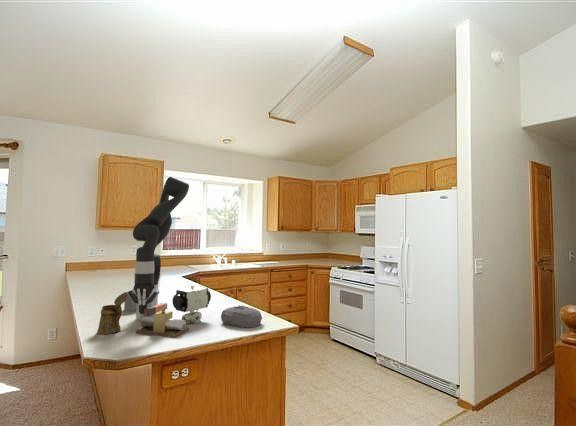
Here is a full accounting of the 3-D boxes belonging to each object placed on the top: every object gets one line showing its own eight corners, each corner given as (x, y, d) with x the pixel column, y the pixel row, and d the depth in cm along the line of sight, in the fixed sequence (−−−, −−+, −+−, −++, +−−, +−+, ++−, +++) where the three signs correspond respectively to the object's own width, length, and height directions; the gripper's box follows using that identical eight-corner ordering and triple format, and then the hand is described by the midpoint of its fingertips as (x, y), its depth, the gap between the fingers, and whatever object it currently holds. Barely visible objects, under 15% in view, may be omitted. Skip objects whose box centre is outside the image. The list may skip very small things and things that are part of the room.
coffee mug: (132, 312, 182) (133, 294, 182) (120, 310, 186) (120, 292, 186) (151, 307, 194) (152, 290, 194) (139, 306, 198) (140, 289, 199)
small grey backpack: (216, 324, 159) (249, 331, 149) (217, 307, 160) (249, 312, 149) (237, 317, 172) (268, 323, 162) (237, 301, 173) (268, 306, 162)
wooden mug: (115, 337, 139) (116, 293, 140) (92, 333, 144) (94, 291, 145) (132, 331, 147) (133, 290, 148) (109, 328, 152) (111, 288, 153)
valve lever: (162, 308, 149) (162, 302, 149) (168, 308, 148) (168, 302, 148) (142, 315, 135) (143, 308, 136) (149, 316, 135) (150, 309, 135)
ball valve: (181, 327, 153) (182, 289, 154) (171, 324, 158) (172, 287, 159) (212, 319, 167) (213, 284, 168) (202, 317, 172) (202, 282, 173)
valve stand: (135, 333, 144) (136, 310, 145) (150, 327, 154) (151, 306, 154) (175, 337, 139) (176, 313, 139) (188, 330, 148) (189, 308, 149)
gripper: (124, 272, 136) (122, 315, 135) (155, 273, 135) (154, 316, 134) (133, 270, 143) (132, 311, 142) (163, 271, 143) (162, 311, 141)
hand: (142, 313), depth 138 cm, fingers closed
